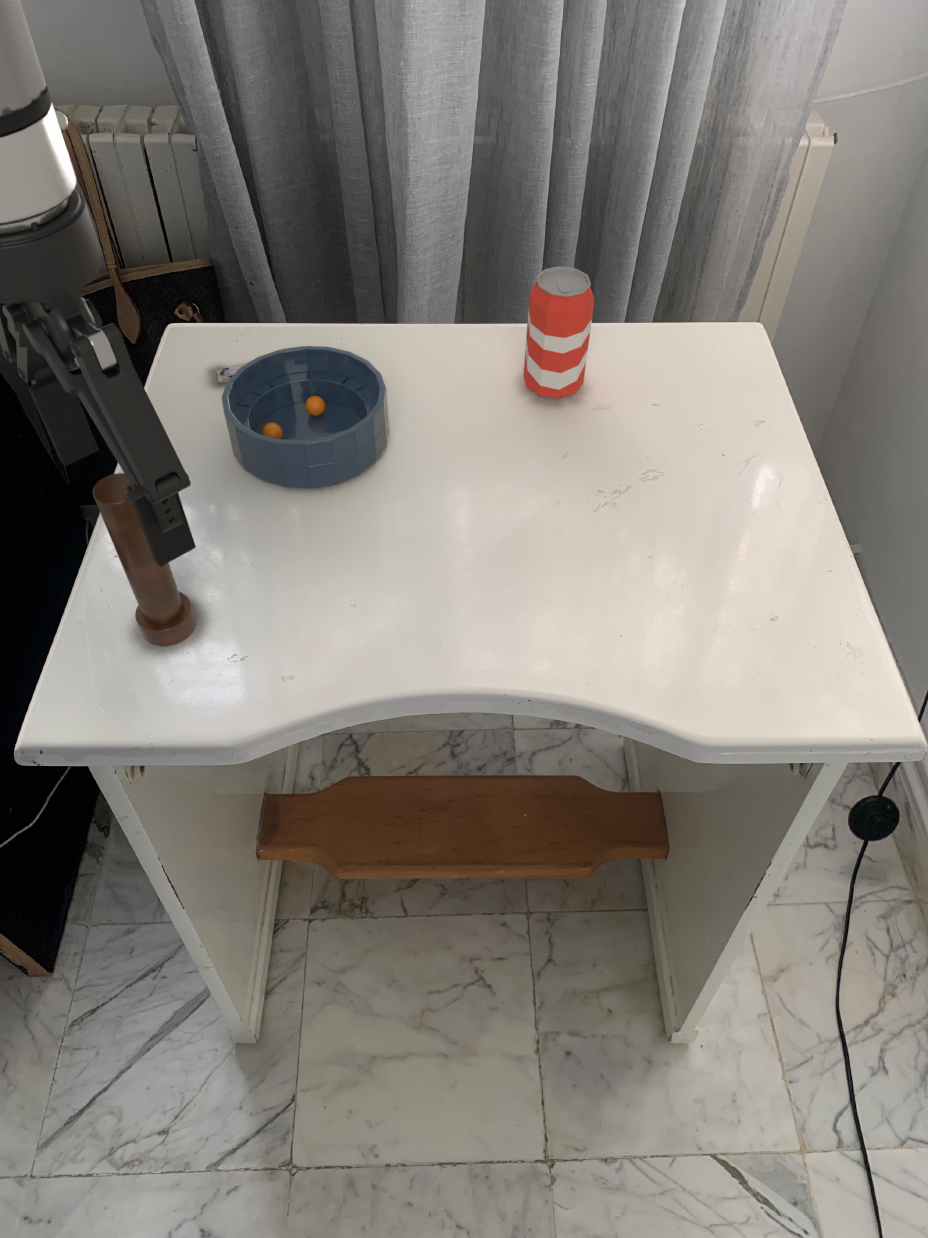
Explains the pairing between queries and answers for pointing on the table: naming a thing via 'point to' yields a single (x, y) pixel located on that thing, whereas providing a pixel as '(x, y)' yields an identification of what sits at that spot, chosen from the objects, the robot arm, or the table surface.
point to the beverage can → (558, 332)
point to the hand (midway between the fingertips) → (125, 502)
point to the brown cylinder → (143, 568)
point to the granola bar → (226, 373)
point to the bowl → (307, 416)
